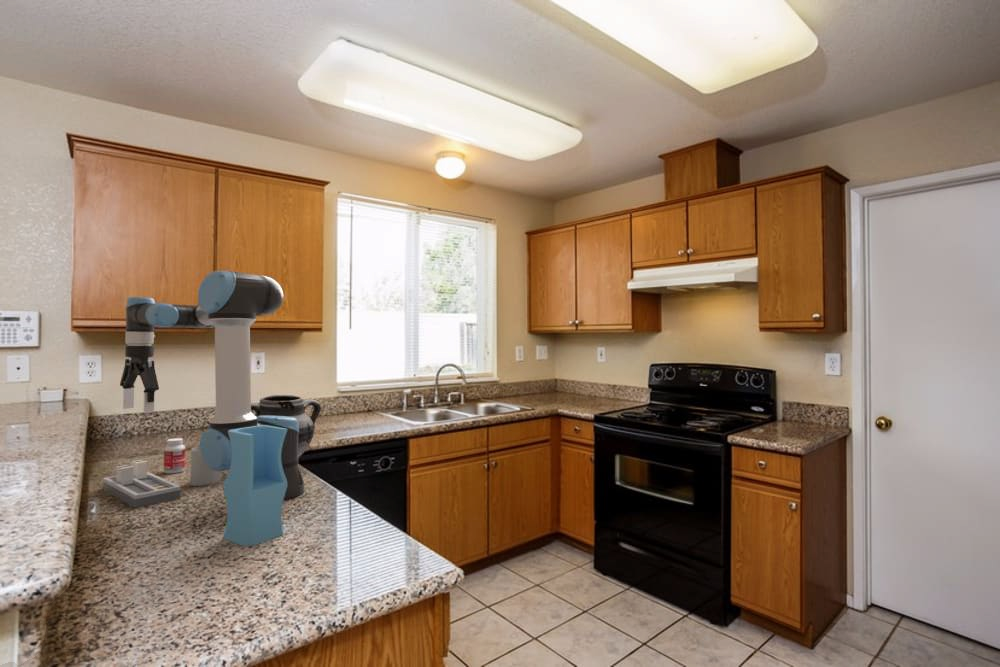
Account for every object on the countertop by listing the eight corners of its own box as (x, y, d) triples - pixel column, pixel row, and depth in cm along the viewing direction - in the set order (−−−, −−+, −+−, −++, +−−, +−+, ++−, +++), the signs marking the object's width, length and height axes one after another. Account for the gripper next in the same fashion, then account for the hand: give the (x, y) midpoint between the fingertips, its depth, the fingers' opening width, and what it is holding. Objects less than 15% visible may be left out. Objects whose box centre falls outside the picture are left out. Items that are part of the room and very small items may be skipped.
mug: (219, 484, 160) (219, 449, 160) (187, 487, 157) (188, 451, 157) (224, 474, 171) (224, 442, 171) (194, 477, 168) (195, 444, 168)
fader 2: (147, 477, 157) (147, 460, 157) (135, 479, 155) (136, 462, 155) (142, 475, 160) (142, 458, 160) (131, 477, 157) (131, 460, 157)
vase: (247, 547, 113) (248, 435, 113) (222, 537, 118) (224, 430, 118) (286, 533, 121) (288, 428, 121) (261, 524, 126) (263, 424, 127)
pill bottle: (172, 474, 170) (173, 441, 170) (159, 473, 172) (159, 440, 172) (189, 470, 176) (189, 438, 176) (175, 468, 178) (176, 437, 178)
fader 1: (133, 483, 151) (133, 466, 151) (120, 485, 149) (121, 468, 149) (128, 481, 153) (128, 464, 153) (116, 483, 151) (116, 465, 151)
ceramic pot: (309, 454, 202) (310, 391, 202) (330, 466, 184) (331, 397, 184) (229, 465, 184) (230, 396, 184) (244, 479, 166) (245, 402, 166)
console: (180, 498, 146) (180, 486, 146) (135, 508, 137) (135, 495, 137) (144, 481, 162) (145, 470, 163) (102, 489, 154) (102, 478, 154)
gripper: (172, 346, 161) (170, 412, 161) (134, 343, 174) (133, 405, 174) (146, 346, 155) (144, 415, 155) (108, 343, 168) (107, 407, 168)
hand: (138, 410), depth 165 cm, fingers open, 13 cm apart
